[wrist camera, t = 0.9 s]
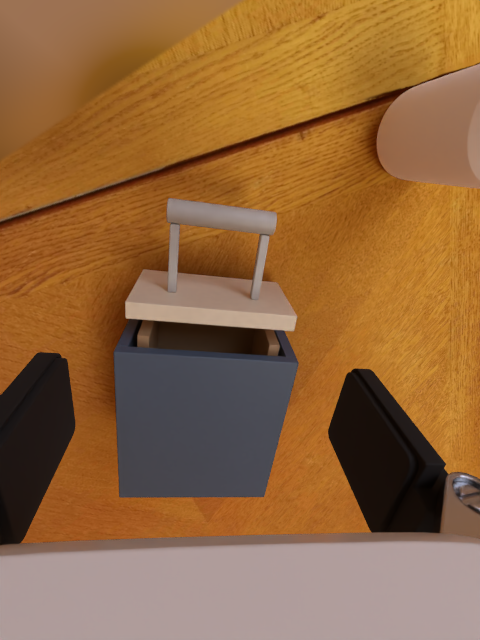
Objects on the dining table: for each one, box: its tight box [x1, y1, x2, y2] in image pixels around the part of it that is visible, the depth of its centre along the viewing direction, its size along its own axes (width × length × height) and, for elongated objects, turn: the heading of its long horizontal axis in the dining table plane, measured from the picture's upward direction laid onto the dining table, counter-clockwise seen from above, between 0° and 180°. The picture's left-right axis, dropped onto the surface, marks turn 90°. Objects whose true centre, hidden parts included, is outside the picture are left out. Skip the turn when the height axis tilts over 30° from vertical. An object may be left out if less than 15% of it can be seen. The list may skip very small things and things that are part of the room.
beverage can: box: [377, 64, 480, 189], centre depth 19 cm, size 6×6×12 cm
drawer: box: [125, 198, 297, 356], centre depth 26 cm, size 20×11×7 cm, turn 172°
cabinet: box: [114, 319, 299, 497], centre depth 29 cm, size 15×13×9 cm
